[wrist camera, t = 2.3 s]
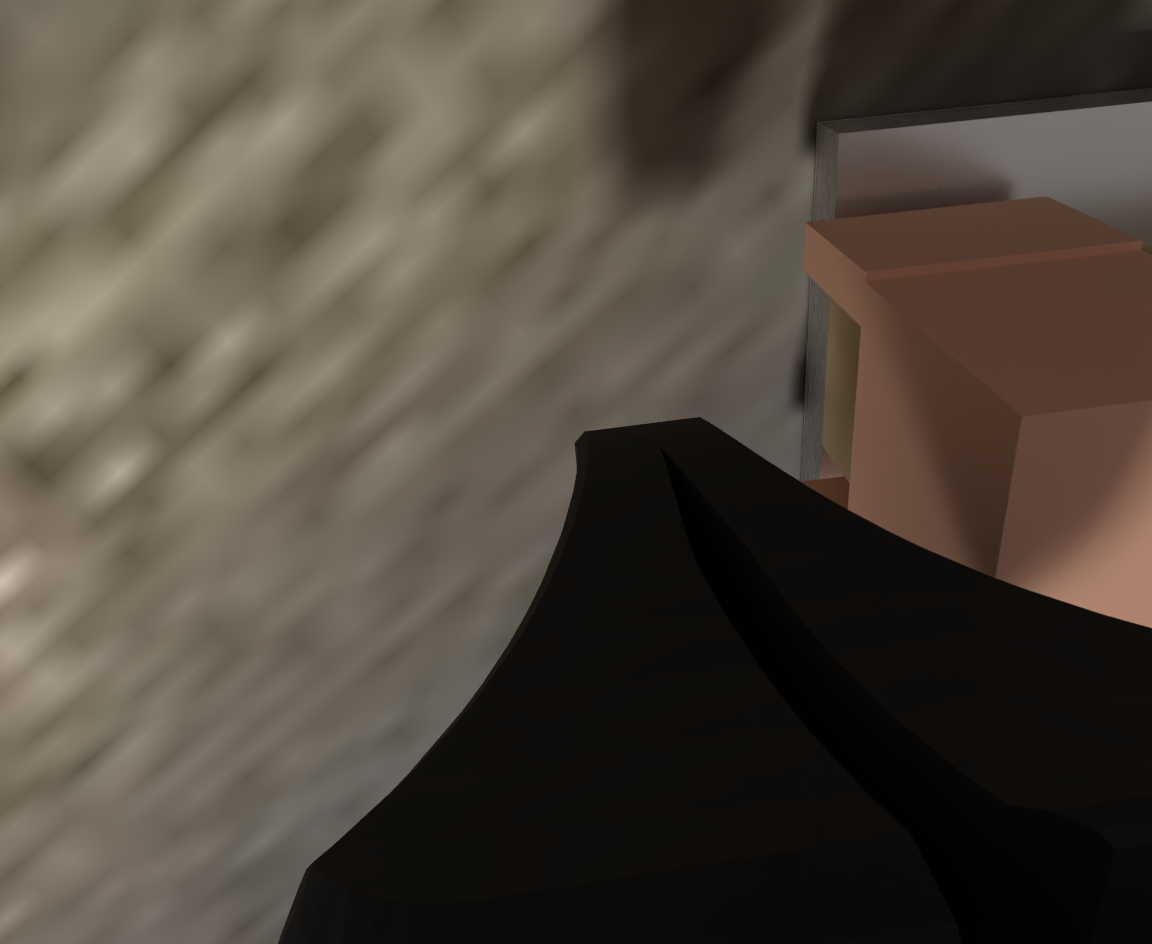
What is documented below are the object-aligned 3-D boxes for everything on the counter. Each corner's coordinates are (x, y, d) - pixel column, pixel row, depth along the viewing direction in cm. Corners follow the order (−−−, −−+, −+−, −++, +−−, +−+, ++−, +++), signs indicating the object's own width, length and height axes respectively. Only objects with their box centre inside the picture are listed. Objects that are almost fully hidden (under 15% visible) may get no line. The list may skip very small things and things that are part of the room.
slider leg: (949, 803, 17) (1126, 1108, 13) (781, 828, 17) (900, 1148, 13) (1046, 196, 12) (1397, 357, 8) (805, 222, 12) (1024, 403, 7)
